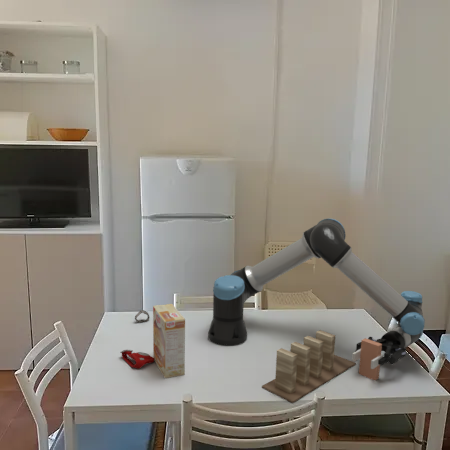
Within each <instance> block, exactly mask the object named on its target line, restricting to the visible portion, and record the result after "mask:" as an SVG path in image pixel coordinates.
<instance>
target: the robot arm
mask: <svg viewBox="0 0 450 450" xmlns="http://www.w3.org/2000/svg"><path fill="white" fill-rule="evenodd" d="M346 237H347V236H346V230H345V227H344V225H343V224H342V222H340V221H339V220H337V219H335V218H324V219H321V220H319V221H318V222H317V224H315V225H313V226H312V227H310V228H309V229H307V230H305V231H303V232H302V236H301V237H300V238H299V239H297V240H296V241H294V242H292V243H291V244H288V245H287V246H286V247H284V248H282V249H280V250H279V251H277V252H276V253H274V254H271V255H270V256H269V257H267V258H265V259H263V260H262V261H260V262H258V263H257V264H255V265H252V266H251V265H246V266H245V267H243V268H240V269H238V270H235V271H233V272H232V273H231V274H230V275H227V274H226V275H223V276H219V277H218V278H216V279H215V280H214V283H213V289H212V293H213V296H212V297H213V301H212V302H213V303H212V305H213V307H212V314H213V315H212V321H211V322H210V325H209V328H208V331H207V335H208V336H207V338H208V340H209V341H210V342H211V343H213V344H215V345H219V346H220V345H221V346H225V347H226V346H227V347H228V346H238V345H241V344H244V343H246V341H247V340H248V331H247V328H246V324H245V320H244V306H245V305H244V304H245V302H247V300H248V299H249V298H251V297H253V296H254V295H256V294H258V293H260V292H262V291H263V288H264V286H265V285H266V284H268V283H270V282H272V281H273V280H274V281H275V280H276V279H277V278H279V277H280V276H281V277H282V275H284V274H286V273H288V272H289V271H291V270H293V269H295V268H296V267H298V266H301V265H302V264H304V263H306V262H307V261H309V260H311V259H314V258H316V259H322V260H323V261H325V263H327V264H328V265H329V266H330V267H331V268H333V269H334V268H337V270H339V271H340V272H341V273H342V274H343V275H345V277H347V278H348V279H349V280H350V281H351V282H352V283H354V285H356V287H358V288H359V289H360V290H362V292H363V293H365V294H366V295H367V296H368V297H369V298H370V299H371V300H373V302H375V303H376V304H377V305H378V306H379V307H380V308H382V309H383V310H384V311H385V312H386V313H387V314H388V315H390V316H391V318H393V319H394V320H395V321H396V322H397V326H396V327H394V328H393V329H391V330H389V331H388V332H386V333H384V334H383V335H382V337H380V338H377V339H374V338H373V336H368V338H367V339H369V340H372V341H375V342H378V343H381V344H382V350H381V352H384V353H381V355H379V356H378V357H376V358H374V359H373V360H371V369H374V368H375V367H377V366H378V365H380V366H383V365H384V364H388V363H389V365H392V366H393V365H394V364H395V363H396V362H398V361H399V360H400V359H401V358H403V357H406V352H407V348H408V347H409V346H411V345H412V344H414V343H417V342H418V341H419V339H420V338H421V337H422V336H423V333H424V328H425V323H426V322H425V321H426V320H425V318H424V314H423V307H422V306H423V295H422V294H421V293H420V292H417V291H414V290H413V291H412V290H404V291H402V292H401V293H399V292H398V291H397V290H396V289H395V288H393V286H391V285H390V284H389V283H388V282H387V281H385V279H383V278H382V277H381V276H380V275H379V274H377V273H376V272H375V271H374V270H373V269H372V268H371V267H370V266H369V265H367V264H366V263H365V262H364V261H363V260H362V259H361V258H359V257H358V256H357V255H356V254H355V253H354V252H353V251H352V247H351V246H350V244H348V243H347V242H346V241H345V239H346ZM360 354H361V341H360V342H358V343H356V347H355V350H354V352H352V356H351V358H352V359H351V361H352V362H355V363H356V361H358V360H360Z"/></svg>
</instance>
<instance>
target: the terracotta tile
mask: <svg viewBox="0 0 450 450" xmlns="http://www.w3.org/2000/svg"><path fill="white" fill-rule="evenodd" d="M360 342H361V354H360V359H359V364H358V365H359V366H358V375H360V376H363V377H366V378H368V379H370V380H373V381H377V380H378V379H379V378H380V372H381V371H380V370H381V365H378V366H377V367H375V368H374V369H371V360H373V359H374V358H376V357H378V356H379V355H381V354H382V351H381V350H382V344H381V343H378V342H375V341H372V340H369V339H368V338H366V337H365V338H363V339H361V341H360Z"/></svg>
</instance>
